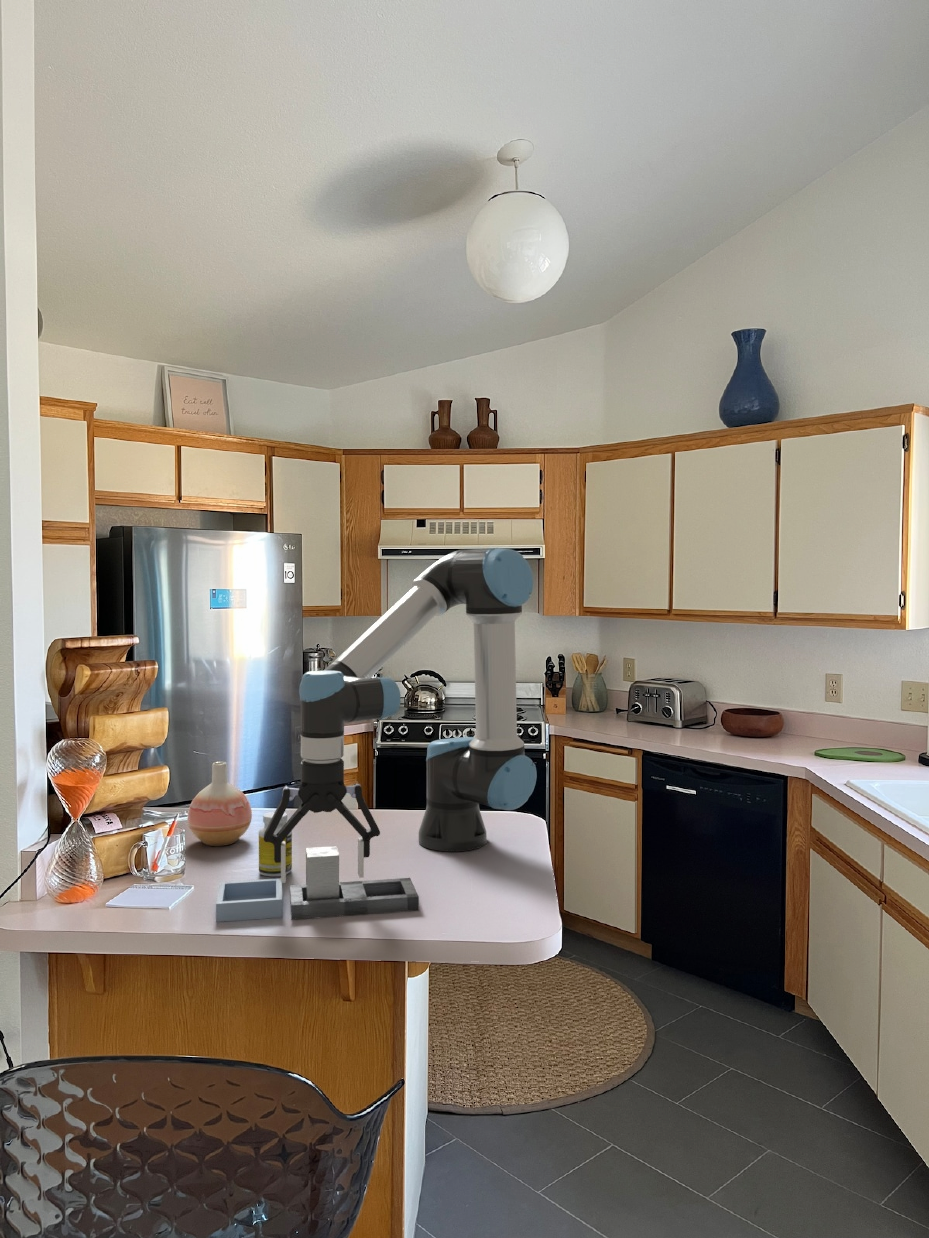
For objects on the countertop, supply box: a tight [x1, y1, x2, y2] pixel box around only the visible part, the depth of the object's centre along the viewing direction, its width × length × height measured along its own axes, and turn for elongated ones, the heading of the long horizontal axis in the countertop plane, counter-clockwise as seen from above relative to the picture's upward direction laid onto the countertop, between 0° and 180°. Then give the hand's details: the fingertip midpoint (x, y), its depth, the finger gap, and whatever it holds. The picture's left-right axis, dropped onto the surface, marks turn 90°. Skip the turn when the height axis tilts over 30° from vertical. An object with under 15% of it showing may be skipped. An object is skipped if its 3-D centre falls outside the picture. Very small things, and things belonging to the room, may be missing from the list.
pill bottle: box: [258, 811, 293, 878], centre depth 175 cm, size 6×6×12 cm
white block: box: [305, 845, 340, 901], centre depth 157 cm, size 6×6×10 cm
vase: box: [187, 761, 253, 847], centre depth 195 cm, size 14×14×18 cm
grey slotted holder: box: [289, 877, 420, 921], centre depth 159 cm, size 22×10×2 cm, turn 102°
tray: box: [215, 877, 283, 923], centre depth 157 cm, size 11×11×3 cm
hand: (322, 877), depth 157 cm, fingers open, 13 cm apart
